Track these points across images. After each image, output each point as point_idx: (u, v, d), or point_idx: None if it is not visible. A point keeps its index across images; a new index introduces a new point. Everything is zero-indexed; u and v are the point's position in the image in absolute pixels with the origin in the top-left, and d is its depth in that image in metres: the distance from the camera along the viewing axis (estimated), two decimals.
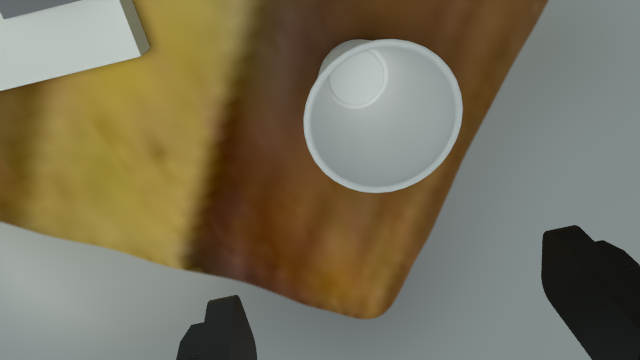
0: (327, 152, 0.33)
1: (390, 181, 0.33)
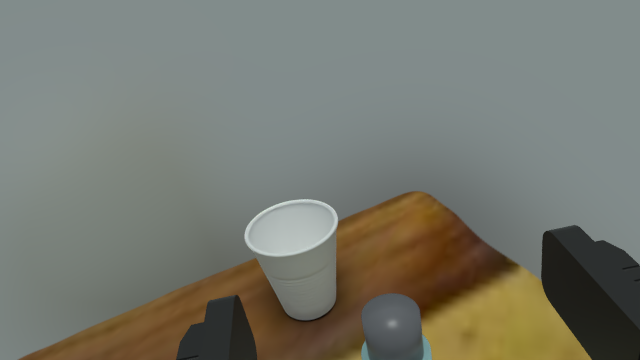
0: None
1: (317, 208, 0.54)
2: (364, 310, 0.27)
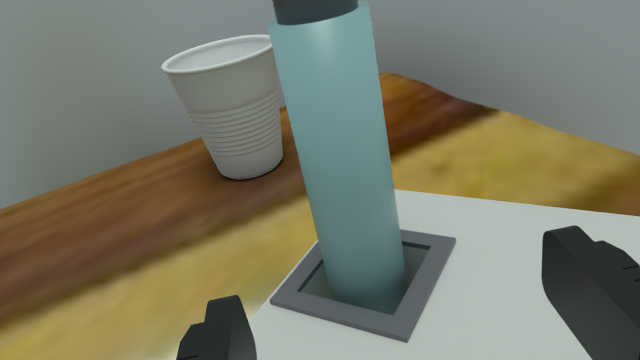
0: (275, 68, 0.42)
1: (255, 45, 0.45)
2: None
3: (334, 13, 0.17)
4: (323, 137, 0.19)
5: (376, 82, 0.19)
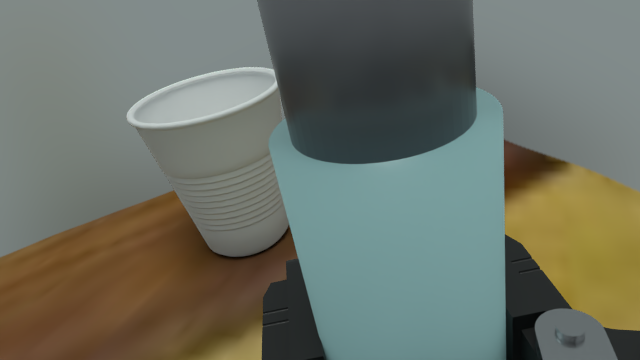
0: (279, 114, 0.31)
1: (253, 81, 0.34)
2: None
3: (434, 140, 0.07)
4: None
5: (504, 262, 0.09)
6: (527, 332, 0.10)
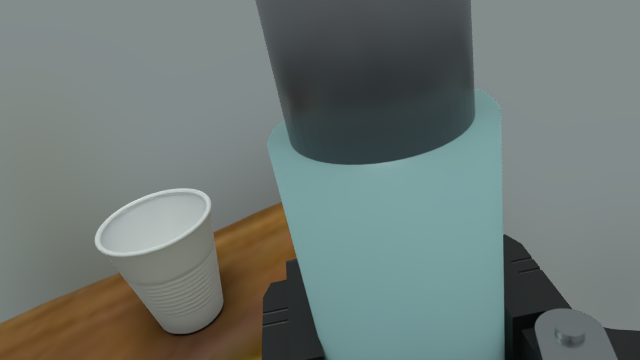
0: (210, 233, 0.42)
1: (194, 198, 0.45)
2: None
3: (432, 141, 0.07)
4: None
5: (502, 262, 0.09)
6: (527, 332, 0.10)
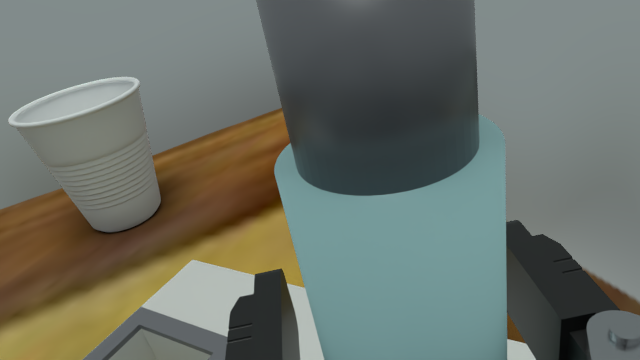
0: (138, 116, 0.39)
1: (126, 88, 0.42)
2: None
3: (438, 173, 0.07)
4: None
5: (505, 286, 0.09)
6: (576, 335, 0.10)
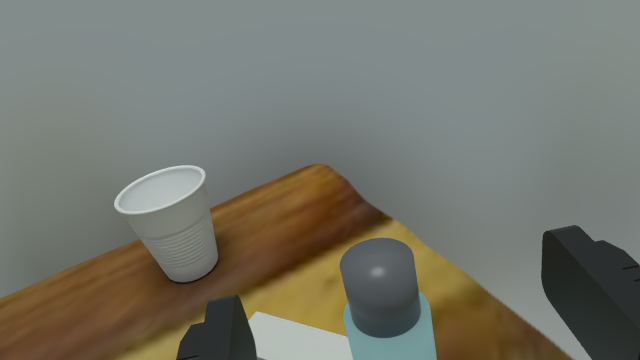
0: (205, 198, 0.53)
1: (193, 173, 0.56)
2: (343, 258, 0.22)
3: (404, 330, 0.21)
4: None
5: None
6: None
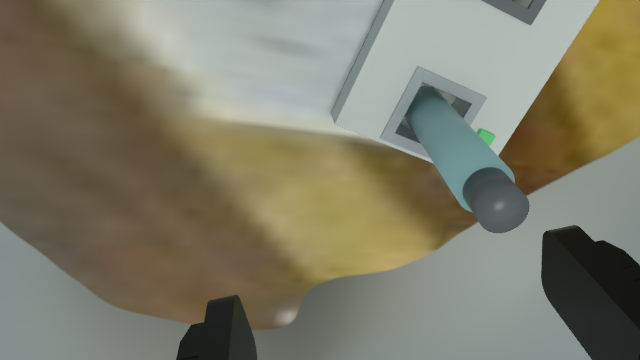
0: None
1: None
2: (514, 190, 0.30)
3: (464, 200, 0.33)
4: (439, 156, 0.36)
5: None
6: None
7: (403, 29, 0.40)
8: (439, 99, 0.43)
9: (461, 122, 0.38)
